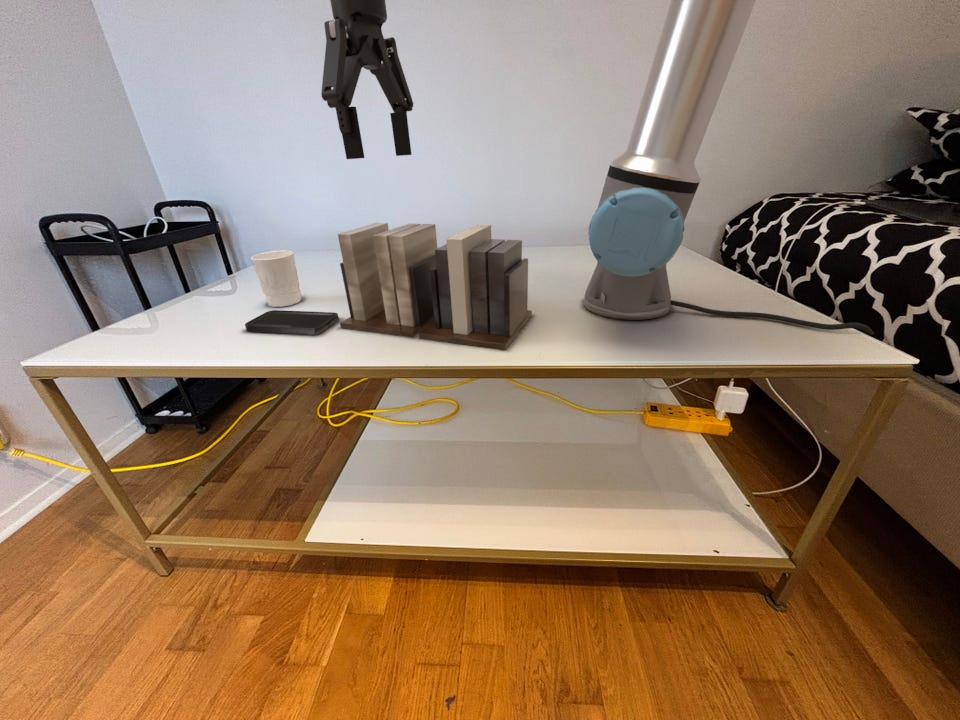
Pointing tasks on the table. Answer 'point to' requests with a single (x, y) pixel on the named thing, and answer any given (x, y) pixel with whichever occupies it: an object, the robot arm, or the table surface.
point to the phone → (292, 322)
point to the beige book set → (389, 278)
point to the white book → (463, 274)
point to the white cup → (278, 277)
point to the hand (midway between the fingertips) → (381, 157)
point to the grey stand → (484, 296)
